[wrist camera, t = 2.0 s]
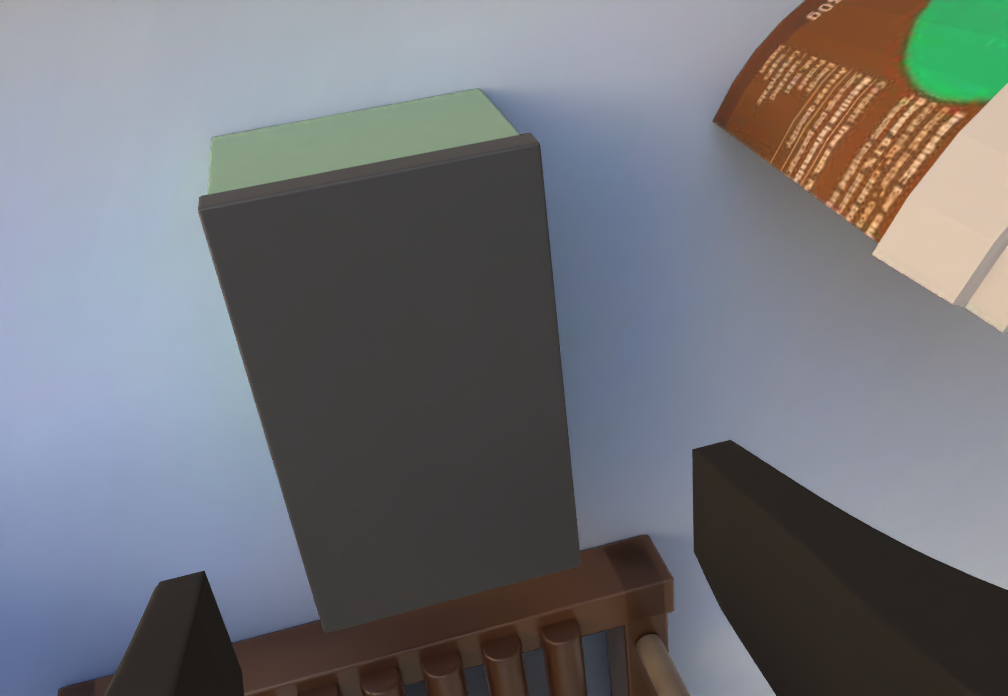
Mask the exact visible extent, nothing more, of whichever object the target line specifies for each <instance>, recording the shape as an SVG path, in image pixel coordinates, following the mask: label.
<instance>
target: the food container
mask: <svg viewBox="0 0 1008 696" xmlns="http://www.w3.org/2000/svg"><path fill="white" fill-rule="evenodd" d="M713 122H714V123H715V124H717V125H718V126H719V127H721V128H722V129H723V130H725V131H726V132H728V133H729V134H730V135H732V136H733V137H734V138H736V139H737V140H738V141H740V142H741V143H743V144H744V145H745V146H747V147H748V148H749V149H751V150H752V151H753V152H755V153H756V154H757V155H759V156H760V157H762V158H763V159H764V160H766V161H767V162H768V163H770V164H771V165H772V166H774V167H775V168H776V169H778V170H779V171H781V172H782V173H783V174H785V175H786V176H787V177H789V178H790V179H791V180H793V181H794V182H796V183H797V184H798V185H800V186H801V187H802V188H804V189H805V190H806V191H808V192H809V193H810V194H812V195H813V196H815V197H816V198H817V199H819V200H820V201H821V202H823V203H824V204H825V205H827V206H828V207H829V208H831V209H832V210H834V211H835V212H836V213H838V214H839V215H840V216H842V217H843V218H844V219H846V220H847V221H849V222H850V223H851V224H853V225H854V226H855V227H857V228H858V229H859V230H861V231H862V232H863V233H865V234H866V235H868V236H869V237H870V238H872V239H873V240H874V241H876V242H877V243H878V245H877V247H876V248H875V250H874V252H873V253H872V255H873V256H875V257H876V258H878V259H880V260H881V261H883V262H884V263H886V264H888V265H889V266H891V267H893V268H894V269H896V270H897V271H899V272H901V273H902V274H904V275H906V276H907V277H909V278H910V279H912V280H914V281H915V282H917V283H919V284H920V285H922V286H923V287H925V288H927V289H928V290H930V291H932V292H933V293H935V294H936V295H938V296H940V297H941V298H943V299H945V300H946V301H948V302H949V303H951V304H953V305H957V306H961V307H965V308H966V309H968V310H969V311H971V312H972V313H974V314H975V315H977V316H978V317H980V318H981V319H983V320H984V321H986V322H987V323H989V324H990V325H992V326H994V327H995V328H997V329H998V330H1000V331H1001V332H1003V333H1006V334H1007V333H1008V0H805V1H804V2H803V3H802V4H801V5H800V6H798V7H797V8H796V9H795V10H794V11H793V12H792V13H790V14H789V15H788V16H787V17H786V18H785V19H783V20H782V21H781V22H780V23H779V24H778V26H777V27H776V28H775V29H774V30H773V31H772V32H771V33H770V35H769V36H768V37H767V38H766V39H765V40H764V41H763V42H762V44H761V45H760V46H759V47H758V48H757V49H756V50H755V51H754V53H753V54H752V56H751V57H750V59H749V60H748V62H747V63H746V64H745V66H744V67H743V69H742V70H741V72H740V73H739V75H738V76H737V77H736V79H735V80H734V82H733V83H732V85H731V87H730V89H729V91H728V93H727V95H726V96H725V98H724V100H723V102H722V104H721V106H720V108H719V110H718V112H717V114H716V116H715V118H714V120H713Z"/></svg>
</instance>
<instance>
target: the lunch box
mask: <svg viewBox="0 0 1008 696" xmlns="http://www.w3.org/2000/svg"><path fill="white" fill-rule="evenodd" d="M198 213H199V216H200V219H201V223H202V226H203V229H204V233H205V236H206V240H207V243H208V246H209V250H210V253H211V256H212V260H213V263H214V266H215V270H216V273H217V276H218V280H219V283H220V286H221V290H222V293H223V296H224V300H225V303H226V306H227V310H228V313H229V316H230V320H231V323H232V326H233V330H234V333H235V336H236V340H237V343H238V347H239V350H240V353H241V357H242V360H243V363H244V367H245V370H246V373H247V377H248V380H249V383H250V387H251V390H252V393H253V397H254V400H255V403H256V407H257V410H258V413H259V417H260V420H261V423H262V427H263V430H264V433H265V437H266V440H267V444H268V447H269V450H270V454H271V457H272V460H273V464H274V467H275V470H276V474H277V477H278V480H279V484H280V487H281V490H282V494H283V497H284V500H285V504H286V507H287V510H288V514H289V517H290V520H291V524H292V527H293V530H294V534H295V537H296V540H297V544H298V547H299V551H300V554H301V557H302V561H303V564H304V567H305V571H306V574H307V577H308V581H309V584H310V587H311V591H312V594H313V597H314V601H315V604H316V607H317V611H318V614H319V617H320V621H321V624H322V627H323V631H324V632H325V633H330V632H333V631H337V630H341V629H345V628H349V627H352V626H356V625H360V624H364V623H367V622H371V621H375V620H379V619H383V618H386V617H390V616H394V615H398V614H401V613H405V612H409V611H413V610H416V609H420V608H424V607H428V606H432V605H435V604H439V603H443V602H447V601H450V600H454V599H458V598H462V597H466V596H469V595H473V594H477V593H481V592H484V591H488V590H492V589H496V588H499V587H503V586H507V585H511V584H515V583H518V582H522V581H526V580H530V579H533V578H537V577H541V576H545V575H548V574H552V573H556V572H560V571H564V570H567V569H571V568H575V567H579V566H580V565H581V560H580V549H579V539H578V529H577V519H576V508H575V498H574V488H573V478H572V467H571V457H570V447H569V436H568V426H567V416H566V406H565V395H564V385H563V375H562V365H561V354H560V344H559V334H558V323H557V313H556V303H555V293H554V282H553V272H552V262H551V252H550V241H549V231H548V221H547V211H546V200H545V190H544V180H543V169H542V159H541V149H540V144H539V142H538V141H537V140H536V139H535V138H534V136H533V135H532V134H531V133H526V134H521V135H520V134H519V133H518V132H517V130H516V129H515V128H514V127H513V126H512V125H511V124H510V122H509V121H508V120H507V119H506V118H505V117H504V116H503V114H502V113H501V112H500V111H499V110H498V109H497V108H496V106H495V105H494V104H493V103H492V102H491V101H490V100H489V98H488V97H487V96H486V95H485V94H484V93H483V92H482V90H481V89H478V88H477V89H472V90H466V91H461V92H456V93H450V94H445V95H439V96H434V97H428V98H423V99H417V100H412V101H407V102H401V103H396V104H390V105H385V106H379V107H374V108H368V109H363V110H358V111H352V112H347V113H341V114H336V115H330V116H325V117H319V118H314V119H309V120H303V121H298V122H292V123H287V124H281V125H276V126H270V127H265V128H260V129H254V130H249V131H243V132H238V133H232V134H227V135H221V136H216V137H213V138H211V151H210V168H209V185H208V195H203V196H201V197H199V205H198Z"/></svg>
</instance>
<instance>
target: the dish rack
mask: <svg viewBox="0 0 1008 696" xmlns="http://www.w3.org/2000/svg"><path fill="white" fill-rule="evenodd" d="M580 560H581V565H580V566H579V567H575V568H571V569H567V570H564V571H560V572H556V573H552V574H548V575H545V576H541V577H537V578H533V579H530V580H526V581H522V582H518V583H515V584H511V585H507V586H503V587H499V588H496V589H492V590H488V591H484V592H481V593H477V594H473V595H469V596H466V597H462V598H458V599H454V600H450V601H447V602H443V603H439V604H435V605H432V606H428V607H424V608H420V609H416V610H413V611H409V612H405V613H401V614H398V615H394V616H390V617H386V618H383V619H379V620H375V621H371V622H367V623H364V624H360V625H356V626H352V627H349V628H345V629H341V630H337V631H333V632H330V633H325V632H324V631H323V627H322V624H321V621H320V620H319V621H315V622H311V623H307V624H304V625H300V626H296V627H292V628H288V629H285V630H281V631H277V632H273V633H269V634H266V635H262V636H258V637H254V638H250V639H247V640H243V641H239V642H235V643H232V646H233V648H234V651H235V654H236V656H237V659H238V662H239V665H240V667H241V670H242V676H243V687H244V696H406V692H405V688H404V686H406V685H409V684H413V683H417V682H420V681H424V682H425V686H426V691H427V695H428V696H469V692H468V687H467V682H466V676H465V671H464V669H467V668H471V667H474V666H478V665H482V664H484V668H485V673H486V679H487V684H488V690H489V695H490V696H530V695H529V688H528V681H527V675H526V668H525V661H524V655H523V653H525V652H529V651H532V650H536V649H539V648H542V650H543V658H544V665H545V673H546V680H547V687H548V695H549V696H587V686H586V677H585V667H584V657H583V647H582V637H583V636H586V635H590V634H594V633H597V632H601V631H604V630H606V632H607V644H608V656H609V668H610V680H611V692H612V696H690V694H689V692H688V690H687V688H686V687H685V685H684V683H683V681H682V679H681V677H680V675H679V673H678V671H677V669H676V667H675V665H674V663H673V661H672V659H671V657H670V655H669V650H668V622H667V613H669V612H672V611H674V582H673V577H672V575H671V573H670V572H669V570H668V568H667V566H666V565H665V563H664V561H663V559H662V558H661V556H660V554H659V552H658V551H657V549H656V547H655V545H654V544H653V542H652V540H651V538H650V537H649V536H648V535H642V536H638V537H634V538H631V539H627V540H623V541H619V542H615V543H612V544H608V545H604V546H601V547H597V548H593V549H589V550H585V551H581V552H580ZM113 676H114V674H113V675H110V676H106V677H102V678H98V679H94V680H90V681H87V682H83V683H79V684H75V685H71V686H68V687H64V688H61V689H59V691H58V696H103V695H104V693H105V691H106V690H107V688H108V686H109V684H110V682H111V680H112V678H113Z"/></svg>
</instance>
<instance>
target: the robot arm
mask: <svg viewBox="0 0 1008 696" xmlns="http://www.w3.org/2000/svg"><path fill="white" fill-rule="evenodd" d="M692 458H693V526H694V553H695V555H696V557H697V559H698V562H699V564H700V566H701V568H702V570H703V573H704V575H705V577H706V579H707V581H708V583H709V585H710V587H711V589H712V592H713V594H714V596H715V598H716V600H717V602H718V604H719V606H720V608H721V610H722V611H723V613H724V615H725V616H726V618H727V619H728V621H729V623H730V624H731V626H732V627H733V629H734V631H735V632H736V634H737V635H738V637H739V638H740V640H741V642H742V643H743V645H744V646H745V648H746V649H747V651H748V652H749V654H750V656H751V657H752V659H753V660H754V662H755V663H756V665H757V666H758V668H759V669H760V671H761V673H762V674H763V676H764V677H765V679H766V680H767V682H768V683H769V685H770V686H771V688H772V690H773V691H774V693H775V694H776V696H1008V590H1006V589H1003V588H1001V587H998V586H996V585H993V584H991V583H988V582H986V581H983V580H981V579H978V578H976V577H974V576H971V575H969V574H967V573H965V572H962V571H960V570H958V569H956V568H953V567H951V566H949V565H947V564H944V563H942V562H940V561H938V560H935V559H933V558H931V557H929V556H927V555H925V554H923V553H921V552H919V551H916V550H914V549H912V548H910V547H908V546H906V545H905V544H903V543H901V542H899V541H897V540H895V539H893V538H891V537H889V536H888V535H886V534H884V533H882V532H880V531H878V530H876V529H874V528H872V527H871V526H869V525H867V524H865V523H864V522H862V521H860V520H858V519H856V518H855V517H853V516H851V515H849V514H848V513H846V512H844V511H843V510H841V509H839V508H838V507H836V506H834V505H832V504H831V503H829V502H828V501H826V500H824V499H823V498H821V497H819V496H818V495H816V494H814V493H813V492H811V491H810V490H808V489H806V488H805V487H803V486H802V485H800V484H798V483H797V482H795V481H794V480H792V479H791V478H789V477H788V476H786V475H784V474H783V473H781V472H780V471H778V470H777V469H775V468H774V467H772V466H770V465H769V464H767V463H766V462H764V461H763V460H761V459H760V458H758V457H757V456H755V455H754V454H752V453H750V452H749V451H747V450H746V449H744V448H743V447H741V446H739V445H738V444H736V443H735V442H733V441H731V440H728V441H724V442H720V443H716V444H712V445H708V446H704V447H700V448H696V449H692ZM103 696H244V687H243V676H242V670H241V667H240V665H239V662H238V659H237V656H236V654H235V651H234V648H233V646H232V643H231V640H230V638H229V635H228V632H227V630H226V627H225V624H224V622H223V619H222V616H221V614H220V611H219V608H218V606H217V603H216V600H215V598H214V595H213V592H212V589H211V587H210V584H209V581H208V579H207V576H206V573H205V571H202V572H198V573H194V574H190V575H185V576H181V577H177V578H173V579H169V580H165V581H161V582H159V584H158V585H157V587H156V588H155V589H154V591H153V593H152V596H151V598H150V600H149V602H148V605H147V607H146V609H145V611H144V614H143V616H142V618H141V620H140V622H139V625H138V627H137V629H136V631H135V633H134V635H133V638H132V640H131V642H130V644H129V646H128V648H127V650H126V652H125V654H124V656H123V658H122V660H121V662H120V664H119V666H118V668H117V670H116V672H115V674H114V676H113V678H112V680H111V682H110V684H109V686H108V688H107V690H106V691H105V693H104V695H103Z"/></svg>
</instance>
